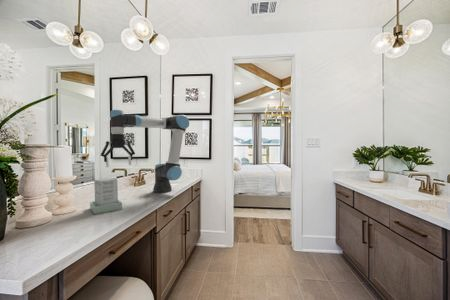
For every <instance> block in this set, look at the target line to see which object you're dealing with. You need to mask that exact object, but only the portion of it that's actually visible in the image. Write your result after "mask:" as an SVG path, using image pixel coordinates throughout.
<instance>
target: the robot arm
mask: <svg viewBox="0 0 450 300" xmlns="http://www.w3.org/2000/svg"><path fill="white" fill-rule="evenodd" d="M109 117H110V119H109V120H110V133H111V135H110V137H111V139H110V141H108V140H107V141H105V145H104V147H103V149H102V151H101V153H100V157H103V162H104V163H105V168H109V166H110V165H109V154H110V153H111V152H112V151H113V150H114V149H122V150H124V151H125V152H126V153H127V154H128V156H127V157H128V158H127V159H128V166H132V161H133V156H134V155H136V152H135V151H134V149H133V147H132V145H131V142H130V141H129V140H128V141H127V140H126V141H125V135H124V134H125V128H146V129H147V128H148V129H149V128H150V129H152V128H155V129H157V128H158V129H162V130H170V131H171V132H172V135H171V140H170V147H169V153H168V159H167V161H166V162H165V163H157V164H156V165H155V166H154V184H153V188H152V193H158V194H160V193H161V192H163V193H168V192H167V191H169V192H171V191H170V190H173V189H172V185H171V183H170V182H171V181H177V180H179V179H180V178H181V176H182V173H183V171H182V168H181V163H180V156H181V150H182V143H183V137H184V134H185V133H186V130H187V129H188V128H189V127H190V120H189V118H188V117H187V116H186V115H184V114H178V115H175V116H174V115H173V116H169V117H162V118H154V117H153V118H152V117H148V118H147V117H141V116H140V115H138V114H126V113H124V111H123V110H121V109H112V110H111V111H110V115H109ZM125 144H126V146H127V147H128V148H127V147H126V146H125ZM110 145H111V146H110ZM109 146H110V148H109V149H108V147H109Z"/></svg>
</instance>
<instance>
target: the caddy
mask: <svg viewBox="0 0 450 300" xmlns="http://www.w3.org/2000/svg"><path fill="white" fill-rule="evenodd" d="M89 208H90V209H89V210H90V211H91V212H92V214H93V215H98V214H99V215H100V214H104V213H109V212H114V211H120V210H123V202H122V201H120V200H119V199H118V203H114V204H108V205H102V206H95V200H92V201H90V202H89Z"/></svg>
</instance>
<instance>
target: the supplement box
mask: <svg viewBox="0 0 450 300" xmlns="http://www.w3.org/2000/svg"><path fill="white" fill-rule="evenodd" d="M93 182H94V201H95V206H102V205H108V204H114V203H118V200H119V197H118V196H119V193H118V190H119V189H118V178H113V177H111V178H110V177H109V178H102V179H101V178H100V179H94V181H93Z"/></svg>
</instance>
